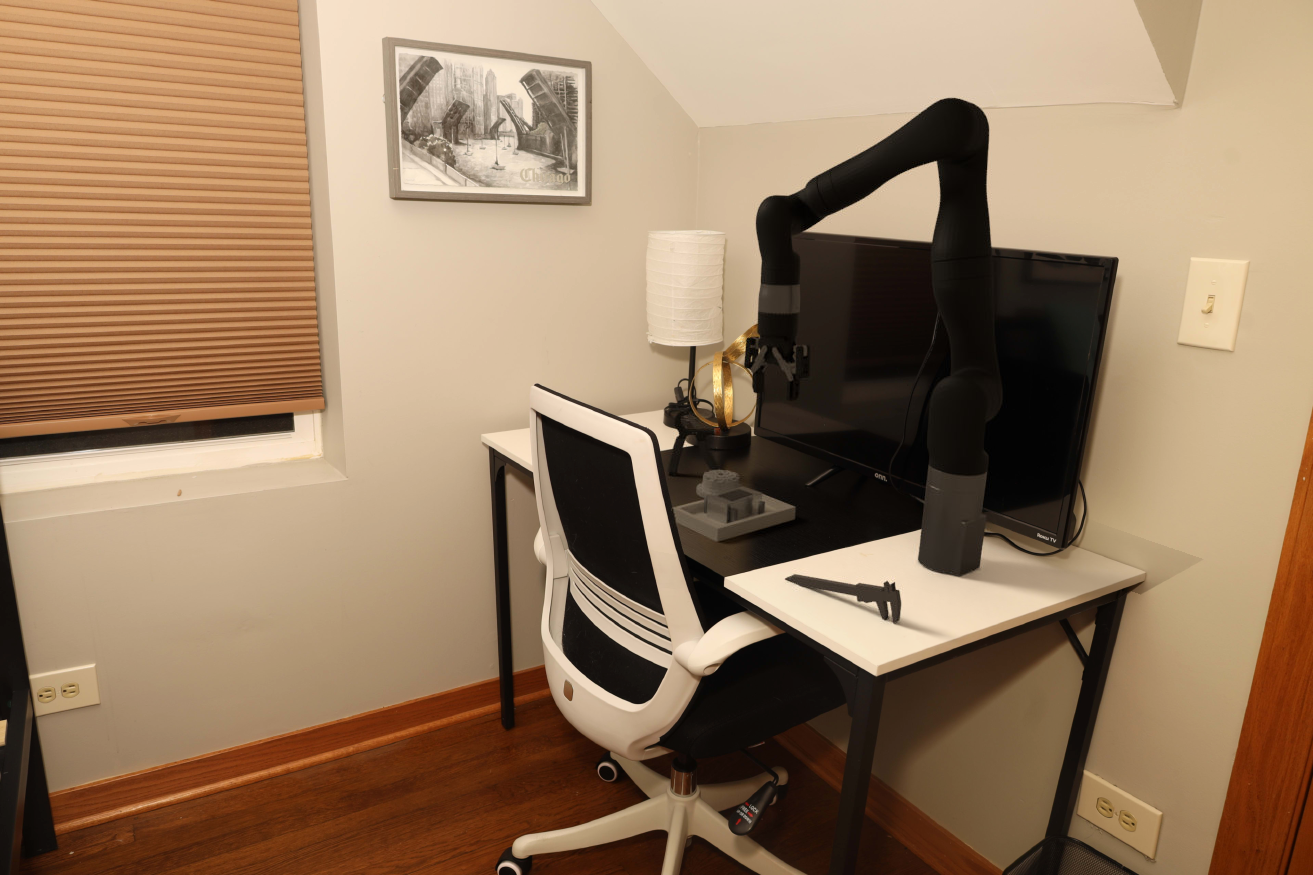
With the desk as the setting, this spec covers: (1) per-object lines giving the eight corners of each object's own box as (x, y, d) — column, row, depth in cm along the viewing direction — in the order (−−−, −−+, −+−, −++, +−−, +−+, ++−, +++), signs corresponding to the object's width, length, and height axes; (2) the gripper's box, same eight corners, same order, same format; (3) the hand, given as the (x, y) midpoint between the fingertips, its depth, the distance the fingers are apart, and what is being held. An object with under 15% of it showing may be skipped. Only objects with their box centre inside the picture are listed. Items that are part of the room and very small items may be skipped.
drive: (761, 512, 167) (762, 492, 166) (726, 524, 161) (727, 503, 160) (741, 505, 171) (742, 485, 170) (706, 517, 164) (707, 496, 163)
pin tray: (794, 519, 167) (796, 499, 166) (717, 541, 155) (718, 520, 154) (747, 500, 177) (748, 481, 176) (671, 520, 165) (672, 500, 164)
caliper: (899, 624, 127) (903, 584, 126) (895, 626, 127) (900, 586, 125) (788, 579, 141) (790, 543, 140) (784, 581, 141) (786, 545, 139)
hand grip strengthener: (723, 481, 189) (726, 414, 184) (667, 476, 191) (668, 409, 187) (725, 477, 191) (728, 411, 187) (669, 472, 193) (670, 407, 189)
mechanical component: (706, 504, 175) (752, 500, 178) (707, 483, 173) (753, 479, 176) (689, 488, 184) (733, 485, 187) (690, 469, 183) (734, 465, 186)
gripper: (822, 311, 155) (817, 400, 159) (764, 304, 165) (761, 387, 170) (794, 314, 150) (789, 406, 154) (736, 306, 161) (733, 392, 165)
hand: (774, 396), depth 162 cm, fingers open, 8 cm apart
